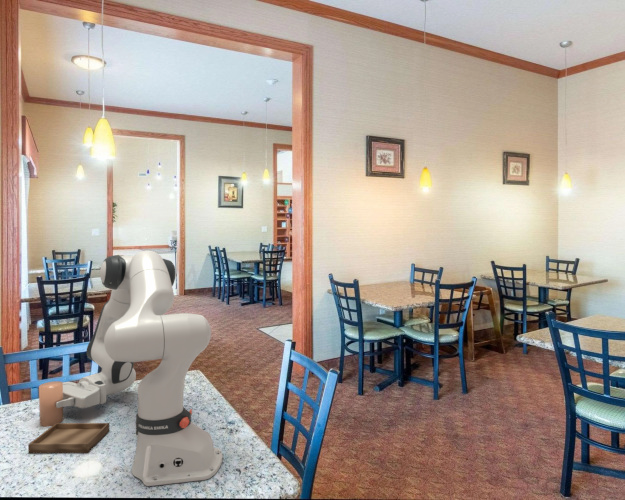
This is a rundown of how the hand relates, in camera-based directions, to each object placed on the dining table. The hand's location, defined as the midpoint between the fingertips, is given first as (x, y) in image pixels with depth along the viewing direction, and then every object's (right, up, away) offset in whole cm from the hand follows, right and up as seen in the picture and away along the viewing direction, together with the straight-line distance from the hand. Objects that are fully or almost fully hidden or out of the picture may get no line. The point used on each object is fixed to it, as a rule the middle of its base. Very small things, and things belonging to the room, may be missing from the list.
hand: (48, 402), depth 135 cm
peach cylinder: (0, -7, +1) cm, 7 cm away
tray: (+14, -7, -12) cm, 19 cm away
